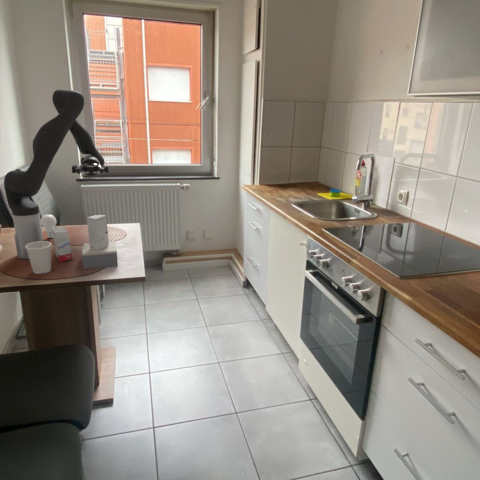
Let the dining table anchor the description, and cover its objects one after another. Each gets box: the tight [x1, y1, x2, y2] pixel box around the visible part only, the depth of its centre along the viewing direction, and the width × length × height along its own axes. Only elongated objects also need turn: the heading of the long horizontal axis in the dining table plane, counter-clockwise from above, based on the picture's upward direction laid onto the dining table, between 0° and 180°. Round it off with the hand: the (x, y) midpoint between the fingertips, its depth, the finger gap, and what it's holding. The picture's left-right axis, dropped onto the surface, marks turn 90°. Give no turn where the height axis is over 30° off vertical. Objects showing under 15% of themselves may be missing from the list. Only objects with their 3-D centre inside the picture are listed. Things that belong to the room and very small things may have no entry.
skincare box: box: [86, 214, 110, 250], centre depth 143 cm, size 6×4×12 cm
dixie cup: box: [25, 240, 53, 275], centre depth 135 cm, size 8×8×10 cm
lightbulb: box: [40, 213, 57, 239], centre depth 170 cm, size 6×6×11 cm
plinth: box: [81, 240, 119, 270], centre depth 146 cm, size 12×12×6 cm
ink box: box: [52, 225, 73, 262], centre depth 148 cm, size 9×5×12 cm, turn 33°
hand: (89, 171), depth 154 cm, fingers open, 8 cm apart
